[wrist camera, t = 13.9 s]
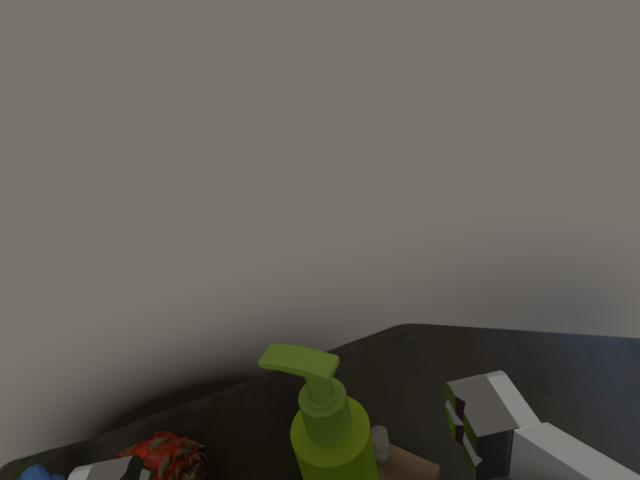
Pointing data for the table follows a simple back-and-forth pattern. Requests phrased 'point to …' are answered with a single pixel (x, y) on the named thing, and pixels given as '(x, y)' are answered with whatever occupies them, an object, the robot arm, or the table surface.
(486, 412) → the robot arm
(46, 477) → the grapes
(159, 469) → the dragon fruit
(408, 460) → the pin seat
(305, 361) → the soap dispenser
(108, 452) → the table surface
